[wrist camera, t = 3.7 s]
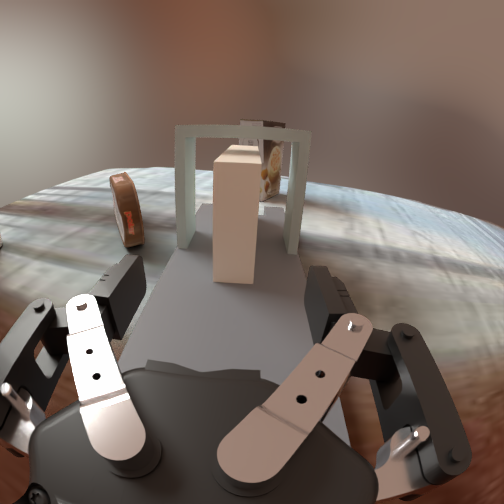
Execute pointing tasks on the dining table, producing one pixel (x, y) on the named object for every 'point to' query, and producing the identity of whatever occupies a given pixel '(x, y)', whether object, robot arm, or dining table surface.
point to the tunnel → (188, 134)
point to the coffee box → (267, 158)
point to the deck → (229, 312)
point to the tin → (127, 210)
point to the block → (235, 213)
